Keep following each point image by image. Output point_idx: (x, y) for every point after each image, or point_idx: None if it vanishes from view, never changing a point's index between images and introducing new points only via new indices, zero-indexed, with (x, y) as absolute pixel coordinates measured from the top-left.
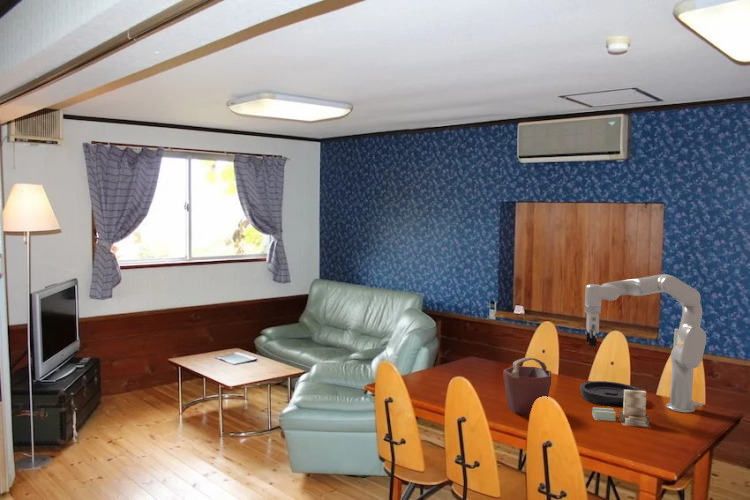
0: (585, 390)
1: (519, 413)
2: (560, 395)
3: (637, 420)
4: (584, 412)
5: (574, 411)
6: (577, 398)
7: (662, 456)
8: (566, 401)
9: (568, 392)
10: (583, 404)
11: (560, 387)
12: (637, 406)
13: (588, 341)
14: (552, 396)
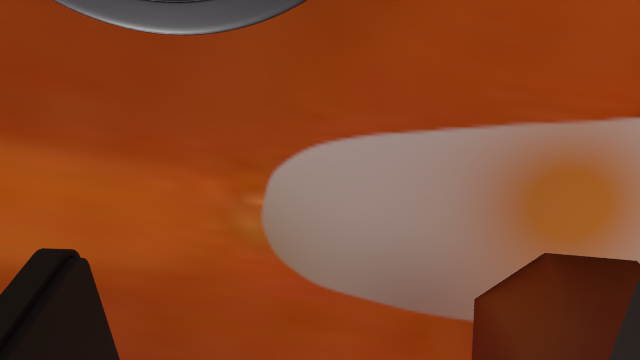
0: (281, 7)
1: None
2: (219, 138)
3: None
4: (591, 28)
5: (571, 92)
6: (250, 35)
7: None
8: (348, 117)
9: (122, 80)
10: (392, 10)
11: (23, 119)
12: None
13: (110, 345)
14: (261, 185)
